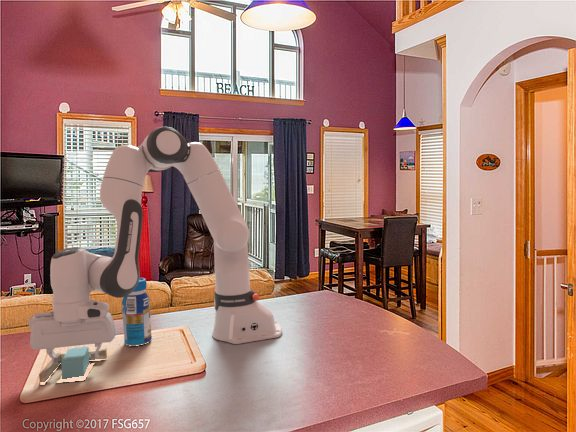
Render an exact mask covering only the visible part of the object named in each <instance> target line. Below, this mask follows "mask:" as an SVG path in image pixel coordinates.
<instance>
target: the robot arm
mask: <svg viewBox="0 0 576 432" xmlns="http://www.w3.org/2000/svg"><path fill="white" fill-rule="evenodd" d="M172 167H174V168H175V169H177V170H178V171H179V173H181V175H182V177H183V179H184V181H185V183H186V185H187V187H188V189H189V192H190V193H191V195H192V197H193V199H194V201H195V203H196V204H197V207H198V209H199V211H200V214H201V216H202V218H203V220H204V223H205V224H206V226H207V228H208V230H209V233H210V235H211V237H212V239H213V254H214V255H213V258H214V262H213V263H214V282H215V283H214V284H215V285H214V287H215V290H214V294H213V295H214V296H213V301H214V302H213V303H214V304H213V306H214V310H215V313H214V314H215V317H214V324H213V329H212V334H211V336H212V338H214V339H215V340H217V341H221V342H226V343H230V344H233V345H240V344H246V343H251V342H258V341H263V340H264V341H265V340H269V339H274V338H280V337H281V336H282V333H283V331H282V327H281V325H280V324H279V323H278V322H276V321H275V317H274V315H273V313H272V311H271V310H270V309H269V308H268V307H267V306H264V305H263V304H262V303H260V302H259V300H260V299H259V298H260V296H259V294H258V293H257V292H256V291H255V290H254V289H251V288H250V287H251V286H250V285H251V283H250V282H251V281H250V261H249V246H248V242H249V238H250V229H249V226H248V224H247V223H246V220H245V219H244V216H243V213H242V212H241V211H240V208H239V206H238V204H237V202H236V200H235V198H234V196H233V195H232V192H231V191H230V188H229V186H228V184H227V182H226V180H225V178H224V176H223V174H222V172H221V168H219V165H218V164H217V162H216V160H215V158H214V157H213V155H212V154H211V153H210V151H209V150H208V148H207V147H206V145H204V144H203V143H201V142H198V141H193V142H192V141H191V142H190V140H189V139H187V138H186V136H185V137H184V135H182V133H180V132H179V131H178V130H176V129H175V128H173V127H170V126H160V127H156V128H154V129H153V130H152V131H151V132H150V133H149V134H148V135H147V136H146V137H145V138H144V140H143V142H142V143H141V144H140V145H139V146H134V145H132V144H131V145H129V144H123V145H118V146H117V147H115V149H113V151H112V153H111V155H110V157H109V159H108V162H107V164H106V167H105V170H104V173H103V176H102V181H101V184H100V188H99V189H100V190H99V200H100V202H101V204H102V206H103V207H104V208H105V209H106V211H108V213H110V214H112V216H113V217H114V218H115V220H116V223H117V224H116V225H117V230H116V232H117V233H116V237H115V238H116V240H115V245H114V246H115V247H114V253H113V256H112V257H111V256H107V255H101V254H95V253H93V252H89V251H88V250H85V249H84V248H82V247H79V246H73V247H68V248H67V247H66V248H64V249H61V250H59V251H56V253H54V254H53V255H52V257H51V260H50V268H49V269H50V272H49V273H50V274H49V276H50V286H51V287H50V288H51V289H52V300H51V302H52V303H51V304H52V311H48V312H36V313H34V314H33V315H31V316H30V317H29V318H28V327H29V330H30V337H29V338H30V339H29V340H30V341H29V344H30V345H29V346H30V348H31V349H32V350H33V351H38V350H45V351H46V354H47V355H48V356H49V357H50V359H51V360H52V364H59V362H60V359H59V358H60V355H56V354H57V353H55V349H56V348H66V347H75V346H76V347H77V346H85V345H94V347H95V348H96V349H95V350H96V351H92V353H91V360H95V359H98V351H99V349H101V346H102V344H103V343H111V342H112V341H113V340H114V339H115V338H116V328H115V322H114V318H113V316H112V314H111V313H110V312H109V309H110V306H109V303H107V302H104V301H98V300H95V299H92V298H91V297H90V295H91V292H94V291H96V292H100V293H103V294H106V295H109V296H111V297H113V298H116V299H117V298H118V299H119V298H123V297H125V296H127V295H129V294H130V293H131V292H133V290H134V289H135V288H136V286H137V285H138V282H139V278H141V277H140V276H141V271H140V262H139V258H140V257H139V255H140V247H141V239H142V230H143V221H144V219H143V218H144V216H143V215H144V210H143V207H142V194H143V189H144V185H145V180H146V176H147V174H148V173H159V172H160V173H161V172H164V171H167V170H168V169H170V168H172ZM90 298H91V299H90Z"/></svg>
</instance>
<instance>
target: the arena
mask: <svg viewBox="0 0 576 432" xmlns="http://www.w3.org/2000/svg"><path fill="white" fill-rule="evenodd" d="M88 350H89V360H91V353H92V351H96V349H88ZM107 350H108V349H107V348H100V349H99V351H98V359H106V358H107V359H108V356H107V355H108V354H107V353H108V352H107ZM66 352H67V351H64V352H57V353H55V354H56V355H60V358H59V359H60V362H59V364H60V363H61V361H62V360H63V358H64V356H65V354H66ZM59 364H52V359H51V360H50V361H49V362H48V363H47V364H46V366H44V368H42V370H41V371H40V373H38V379H39V383H40V382H45V381H46V380H47V379H48V378H49V376H50V375H51V374H52V373H53V371H54V370H55V369H56V368H57V367H58V365H59Z"/></svg>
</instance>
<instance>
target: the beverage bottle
mask: <svg viewBox="0 0 576 432" xmlns="http://www.w3.org/2000/svg"><path fill="white" fill-rule="evenodd" d="M146 279H147V278H144V277H140V278H139V282H138V285H137V286H136V288H135V289H134V290H133V292H131V293H130V294H129V295H127V296H125V297H122V301H121V305H122V309H121V315H122V321H123V322H122V323H123V326H122V327H123V336H124V337H123V338H124V339H123V340H124V341H123V342H124V345H125V344H126V345H125V346H127V345H131V346H136V345H141V344H145V343H147V342H149V341H152V340H153V338H152V337H153V336H152V321H151V319H152V318H151V310H152V308H151V304H150V301H151V300H150V296H149V295H148V293H147V292H146V291H147V280H146ZM151 339H152V340H151Z"/></svg>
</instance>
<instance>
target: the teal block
mask: <svg viewBox="0 0 576 432" xmlns="http://www.w3.org/2000/svg"><path fill="white" fill-rule="evenodd" d="M89 350H90V349H89V346H82V347H74V348H68V349H67V351H65V352H66V354H65V356H64V358H63V360H62V361H61V365H60V367H61V375H62V379H67V378H72V377H79V376H84V374H85V372H86V369H87V367H88V365H89V363H90V362H89Z"/></svg>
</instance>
